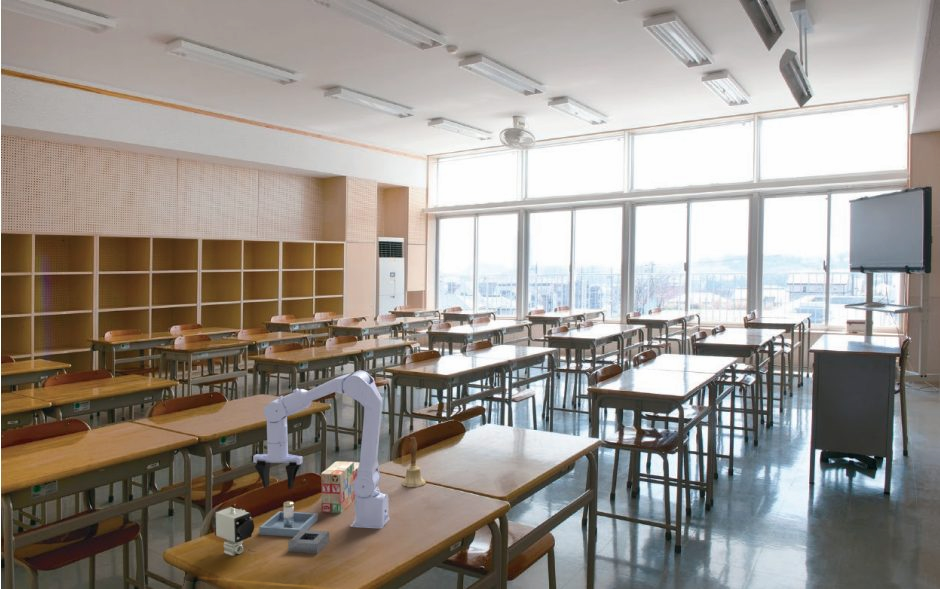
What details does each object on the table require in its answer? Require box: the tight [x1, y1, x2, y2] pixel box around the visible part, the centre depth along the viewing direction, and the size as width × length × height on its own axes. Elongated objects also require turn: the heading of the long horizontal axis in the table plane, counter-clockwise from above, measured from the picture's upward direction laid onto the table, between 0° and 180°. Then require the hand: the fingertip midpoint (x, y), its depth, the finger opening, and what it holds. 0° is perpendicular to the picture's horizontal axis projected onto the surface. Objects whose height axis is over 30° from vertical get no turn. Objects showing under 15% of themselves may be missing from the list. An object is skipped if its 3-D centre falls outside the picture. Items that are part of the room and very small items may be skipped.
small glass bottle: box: [283, 500, 295, 528], centre depth 186 cm, size 3×3×7 cm
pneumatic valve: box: [211, 506, 255, 556], centre depth 171 cm, size 6×12×12 cm, turn 57°
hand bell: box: [401, 436, 426, 488], centre depth 224 cm, size 8×8×16 cm
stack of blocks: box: [320, 461, 360, 514], centre depth 208 cm, size 21×6×12 cm, turn 170°
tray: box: [258, 510, 319, 538], centre depth 186 cm, size 12×12×2 cm
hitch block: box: [287, 529, 330, 554], centre depth 174 cm, size 8×8×3 cm
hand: (278, 487), depth 191 cm, fingers open, 7 cm apart
